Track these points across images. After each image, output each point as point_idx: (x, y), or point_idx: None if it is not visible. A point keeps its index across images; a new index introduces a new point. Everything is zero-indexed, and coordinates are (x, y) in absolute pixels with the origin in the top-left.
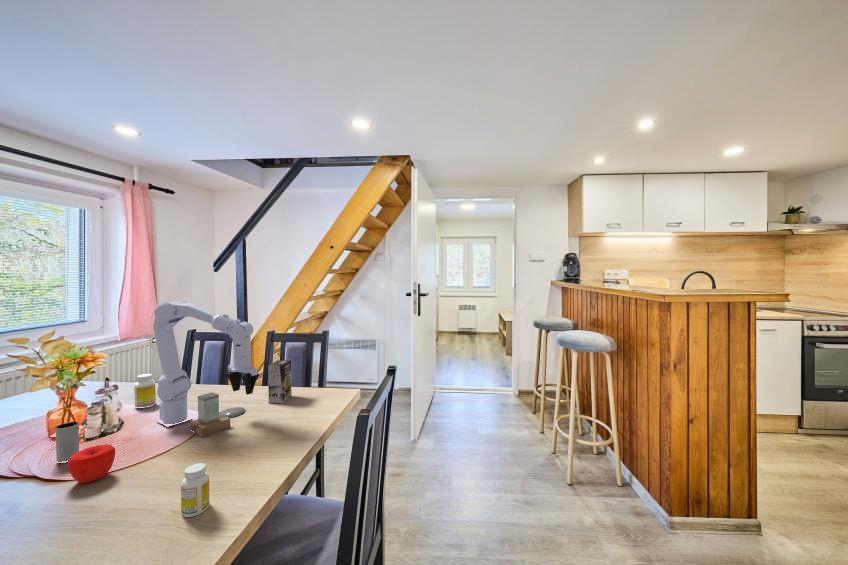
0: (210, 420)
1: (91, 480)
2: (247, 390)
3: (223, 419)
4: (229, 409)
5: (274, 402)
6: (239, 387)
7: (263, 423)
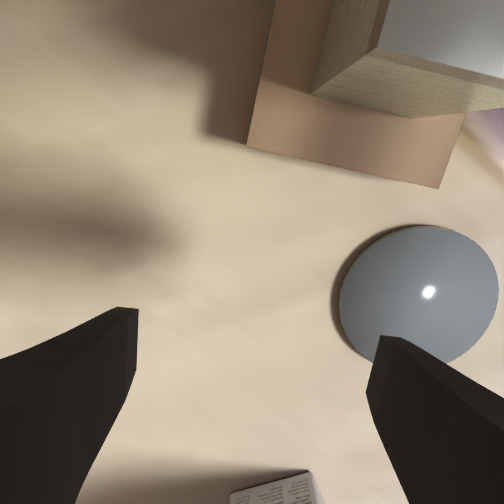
0: (331, 15)
1: None
2: (82, 328)
3: (278, 110)
4: (465, 324)
5: (276, 484)
6: (375, 413)
7: (87, 256)
